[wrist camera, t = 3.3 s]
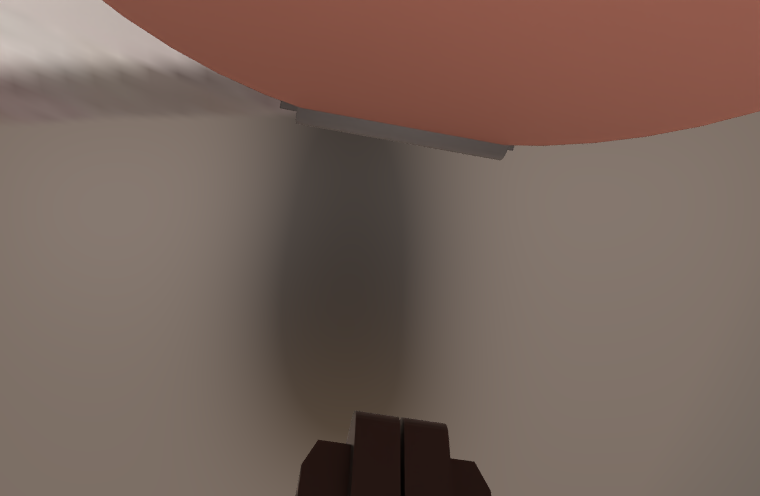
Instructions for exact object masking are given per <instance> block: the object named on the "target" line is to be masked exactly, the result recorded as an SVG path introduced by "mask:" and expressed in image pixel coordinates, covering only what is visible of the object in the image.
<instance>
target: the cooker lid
mask: <svg viewBox="0 0 760 496" xmlns="http://www.w3.org/2000/svg"><path fill="white" fill-rule="evenodd" d="M103 1H104V2H105V3H107V4H108V5H109V6H111V7H112V8H113V9H114V10H116V11H117V12H118V13H120V14H121V15H122V16H124V17H125V18H127V19H128V20H130V21H131V22H133V23H134V24H136V25H137V26H139V27H140V28H142V29H144V30H145V31H147V32H148V33H150V34H151V35H153V36H154V37H156V38H157V39H159V40H160V41H162V42H164V43H165V44H167V45H168V46H170V47H171V48H173V49H175V50H177V51H178V52H180V53H182V54H184V55H186V56H188V57H189V58H191V59H193V60H195V61H197V62H199V63H200V64H202V65H204V66H206V67H208V68H210V69H211V70H213V71H215V72H217V73H219V74H221V75H223V76H225V77H228V78H230V79H232V80H234V81H236V82H239V83H241V84H243V85H245V86H247V87H249V88H252V89H254V90H256V91H258V92H260V93H263V94H265V95H268V96H270V97H273V98H276V99H278V100H281V101H284V102H287V103H289V104H292V105H295V106H297V113H296V123H297V124H302V125H308V126H313V127H319V128H324V129H330V130H336V131H341V132H346V133H352V134H358V135H363V136H368V137H374V138H379V139H385V140H391V141H396V142H402V143H407V144H413V145H418V146H424V147H429V148H435V149H440V150H446V151H451V152H457V153H462V154H468V155H473V156H480V157H484V158H491V159H496V160H502V159H503V157H504V156H505V154H506V152H507V150H508V147H509V145H529V146H530V145H531V146H533V145H534V146H547V145H565V144H583V143H597V142H605V141H613V140H622V139H630V138H639V137H646V136H652V135H657V134H662V133H668V132H673V131H678V130H683V129H689V128H694V127H700V126H704V125H708V124H711V123H715V122H719V121H723V120H727V119H731V118H735V117H739V116H743V115H747V114H750V113H754V112H758V111H760V0H103Z"/></svg>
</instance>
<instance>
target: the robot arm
mask: <svg viewBox="0 0 760 496" xmlns="http://www.w3.org/2000/svg"><path fill="white" fill-rule="evenodd" d="M296 496H491V491H490V489H489V487H488V485H487V483H486V482H485V480H484V478H483V476H482V475H481V473H480V471H479V469H478V467H477V466H476V464H475V462H472V461H465V460H458V459H451V458H450V449H449V437H448V429H447V426H446V424H443V423H437V422H429V421H423V420H416V419H409V418H401V419H400V420H399V417H394V416H386V415H380V414H373V413H366V412H360V411H354V414H353V418H352V421H351V426H350V430H349V434H348V438H347V443H346V444H344V443H337V442H330V441H322V440H318V441H317V442H316V444H315V445H314V447H313V448H312V450H311V451H310V453H309V454H308V456H307V457H306V459H305V460H304V462H303V463H302V465H301V470H300V475H299V480H298V485H297V491H296Z"/></svg>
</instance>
